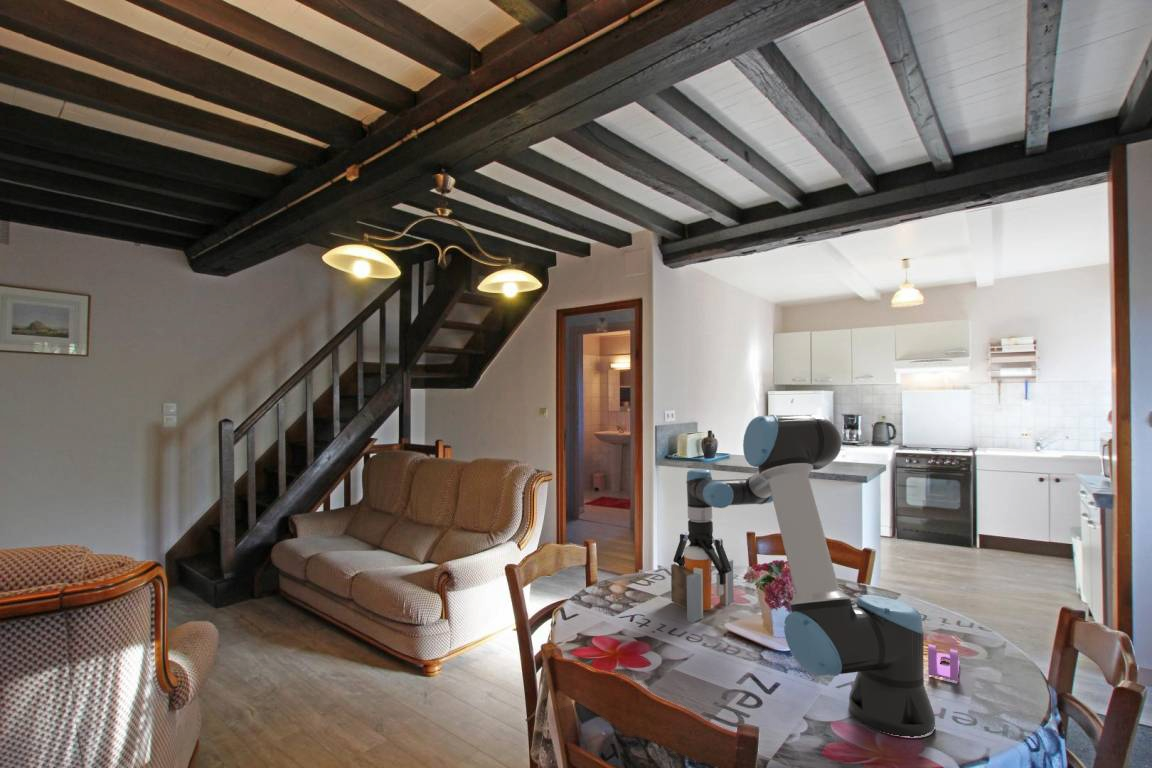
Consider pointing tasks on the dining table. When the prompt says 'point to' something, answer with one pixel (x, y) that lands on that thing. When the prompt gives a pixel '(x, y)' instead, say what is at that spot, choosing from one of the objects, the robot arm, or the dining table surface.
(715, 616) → the dining table surface
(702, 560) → the shaker bottle
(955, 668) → the bracket
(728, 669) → the dining table surface
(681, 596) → the door
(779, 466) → the robot arm
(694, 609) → the wall
